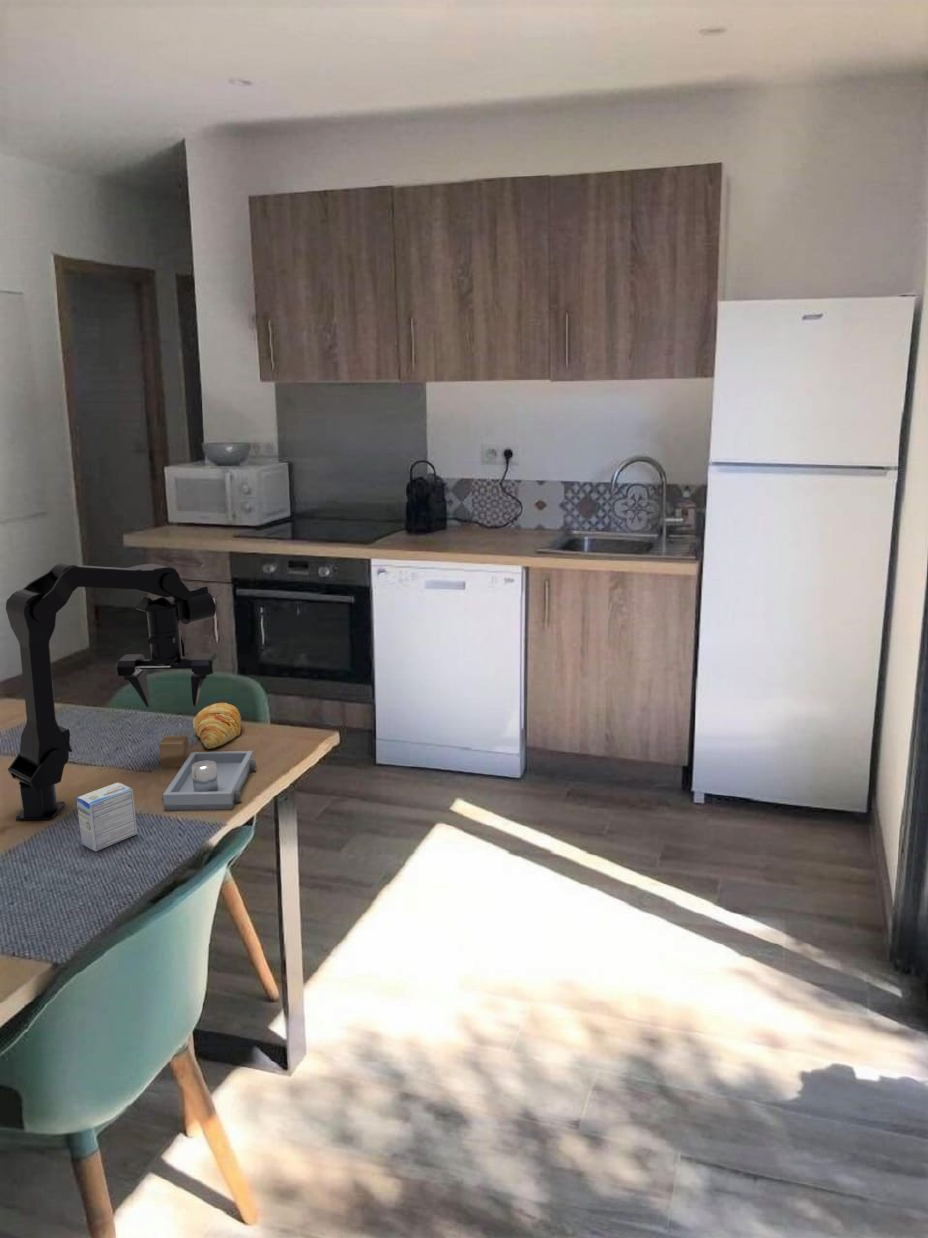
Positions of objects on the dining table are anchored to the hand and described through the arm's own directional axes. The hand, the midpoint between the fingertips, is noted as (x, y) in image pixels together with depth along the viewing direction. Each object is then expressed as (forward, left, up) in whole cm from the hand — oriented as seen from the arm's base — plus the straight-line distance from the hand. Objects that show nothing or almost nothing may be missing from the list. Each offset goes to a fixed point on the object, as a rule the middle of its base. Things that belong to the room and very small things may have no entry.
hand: (171, 706), depth 195 cm
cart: (-12, -9, -12) cm, 19 cm away
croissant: (+16, -4, -13) cm, 21 cm away
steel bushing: (-15, -9, -11) cm, 21 cm away
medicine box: (-33, +3, -12) cm, 35 cm away
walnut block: (0, +1, -12) cm, 12 cm away
